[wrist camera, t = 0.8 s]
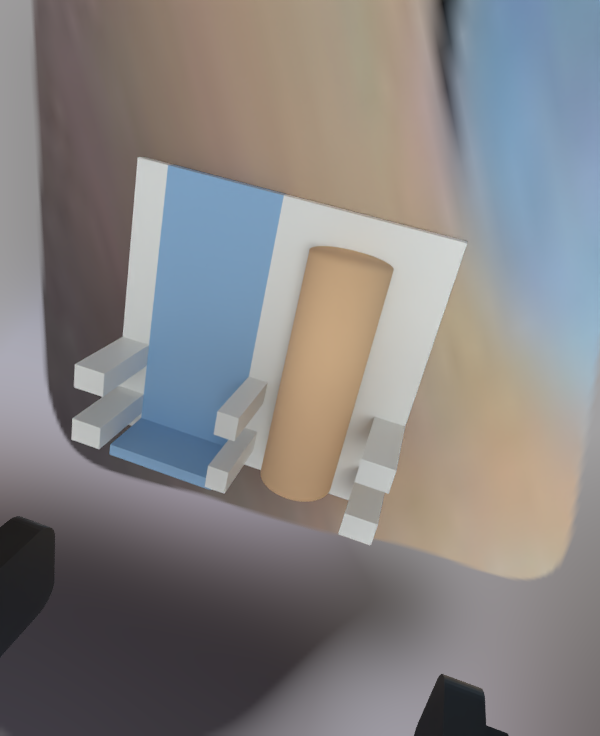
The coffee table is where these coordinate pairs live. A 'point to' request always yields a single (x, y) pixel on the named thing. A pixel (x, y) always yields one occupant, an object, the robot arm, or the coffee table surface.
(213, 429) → the cylinder holder rack
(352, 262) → the tan rounded cylinder
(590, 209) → the coffee table surface
